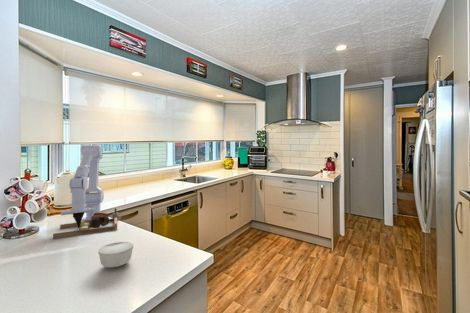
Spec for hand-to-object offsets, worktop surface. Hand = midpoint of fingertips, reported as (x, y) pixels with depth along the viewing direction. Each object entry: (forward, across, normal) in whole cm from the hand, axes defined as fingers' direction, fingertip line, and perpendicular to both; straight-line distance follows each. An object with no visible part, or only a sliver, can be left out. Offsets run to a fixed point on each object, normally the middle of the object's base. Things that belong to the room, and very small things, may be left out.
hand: (78, 227), depth 116 cm
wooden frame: (+1, +4, 0) cm, 4 cm away
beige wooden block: (+1, +3, 0) cm, 3 cm away
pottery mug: (+2, +9, 0) cm, 9 cm away
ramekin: (+2, +17, -48) cm, 51 cm away
